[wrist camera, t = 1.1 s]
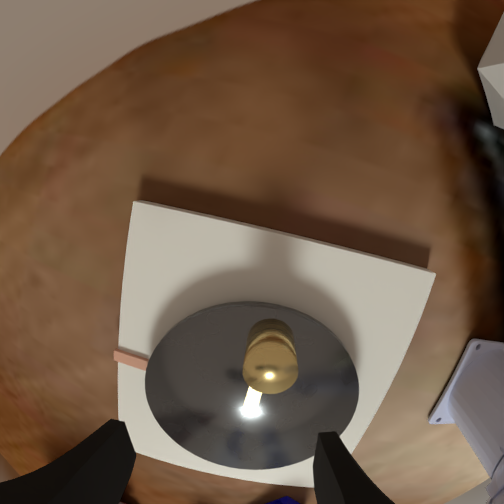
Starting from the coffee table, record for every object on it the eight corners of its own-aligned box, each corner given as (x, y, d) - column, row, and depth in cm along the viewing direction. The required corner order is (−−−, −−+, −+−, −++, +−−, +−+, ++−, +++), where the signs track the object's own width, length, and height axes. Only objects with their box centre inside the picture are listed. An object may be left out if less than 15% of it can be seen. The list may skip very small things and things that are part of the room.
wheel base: (427, 268, 18) (439, 276, 16) (326, 478, 22) (328, 492, 20) (138, 199, 18) (126, 201, 16) (122, 436, 22) (116, 449, 20)
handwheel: (315, 470, 19) (320, 510, 15) (145, 437, 19) (128, 474, 15) (387, 326, 16) (414, 361, 12) (159, 275, 16) (129, 301, 13)
